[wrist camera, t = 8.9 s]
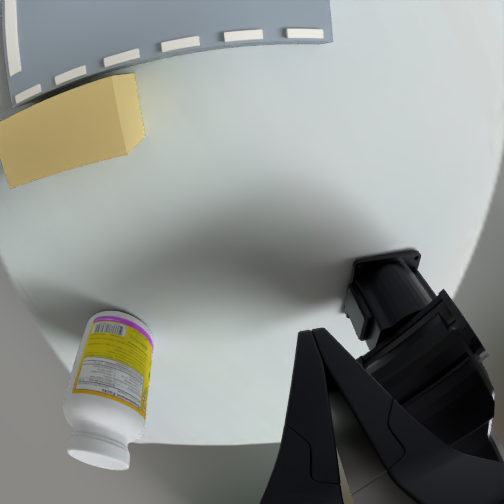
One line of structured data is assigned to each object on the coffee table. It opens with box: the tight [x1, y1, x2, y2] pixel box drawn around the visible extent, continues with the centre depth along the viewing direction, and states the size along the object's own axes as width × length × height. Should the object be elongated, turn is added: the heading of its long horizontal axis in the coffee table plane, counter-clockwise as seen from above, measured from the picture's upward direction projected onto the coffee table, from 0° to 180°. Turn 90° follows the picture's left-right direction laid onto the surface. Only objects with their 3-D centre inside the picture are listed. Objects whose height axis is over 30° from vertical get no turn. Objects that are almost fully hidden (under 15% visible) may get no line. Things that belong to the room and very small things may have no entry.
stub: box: [0, 73, 146, 189], centre depth 13 cm, size 8×4×4 cm, turn 95°
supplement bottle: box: [63, 311, 154, 470], centre depth 20 cm, size 7×7×13 cm
